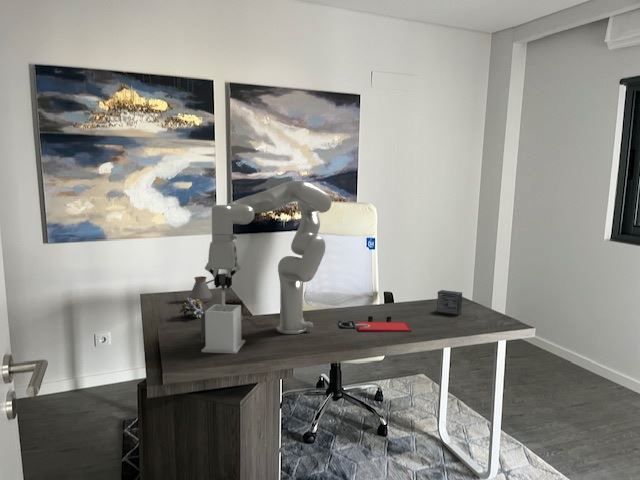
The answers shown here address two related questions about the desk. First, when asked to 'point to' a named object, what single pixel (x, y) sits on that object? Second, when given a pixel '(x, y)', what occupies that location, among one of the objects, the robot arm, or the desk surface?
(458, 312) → the small box
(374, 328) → the red board with handle
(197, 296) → the coffee pot
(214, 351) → the press housing
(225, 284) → the plunger
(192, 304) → the passion flower
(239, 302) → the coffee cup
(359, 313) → the desk surface
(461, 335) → the desk surface
